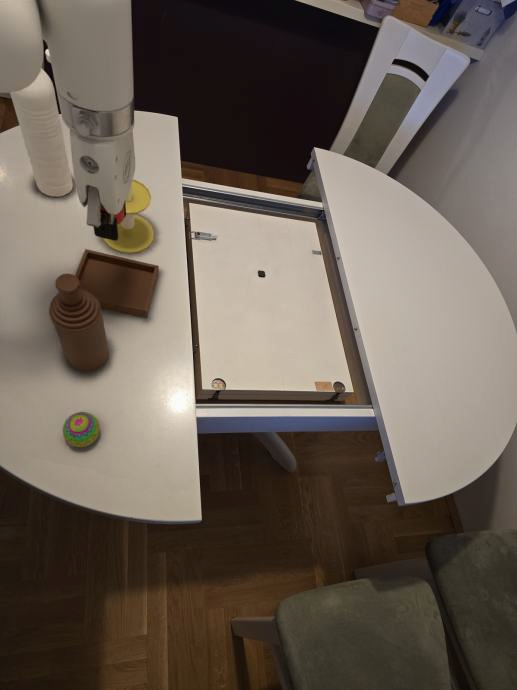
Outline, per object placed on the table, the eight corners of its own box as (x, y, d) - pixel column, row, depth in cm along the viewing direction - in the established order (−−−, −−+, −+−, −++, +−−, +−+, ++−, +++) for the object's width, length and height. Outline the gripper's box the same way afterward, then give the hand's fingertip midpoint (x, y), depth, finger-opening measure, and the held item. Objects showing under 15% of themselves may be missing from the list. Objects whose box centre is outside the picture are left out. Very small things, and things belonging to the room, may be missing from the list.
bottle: (61, 367, 62) (29, 297, 45) (73, 333, 65) (48, 255, 48) (102, 374, 63) (87, 309, 46) (113, 340, 67) (102, 267, 49)
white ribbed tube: (37, 197, 76) (-5, 59, 54) (36, 173, 78) (-4, 32, 57) (86, 197, 78) (64, 67, 57) (83, 174, 81) (62, 41, 60)
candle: (112, 208, 79) (100, 68, 56) (160, 224, 80) (167, 94, 57) (92, 243, 74) (69, 105, 51) (144, 260, 75) (144, 133, 52)
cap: (120, 229, 55) (119, 215, 53) (91, 221, 55) (89, 207, 52) (127, 209, 57) (126, 195, 55) (100, 202, 56) (98, 187, 54)
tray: (69, 302, 68) (67, 294, 66) (87, 257, 72) (85, 248, 70) (146, 317, 70) (146, 311, 68) (158, 273, 75) (158, 265, 73)
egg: (68, 417, 59) (61, 405, 54) (102, 417, 60) (98, 405, 55) (63, 450, 57) (55, 440, 52) (99, 449, 58) (95, 440, 53)
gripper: (113, 166, 39) (123, 275, 54) (149, 74, 46) (149, 193, 62) (32, 144, 37) (66, 263, 53) (84, 54, 45) (100, 181, 61)
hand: (110, 224), depth 57 cm, fingers closed on cap, 3 cm apart
